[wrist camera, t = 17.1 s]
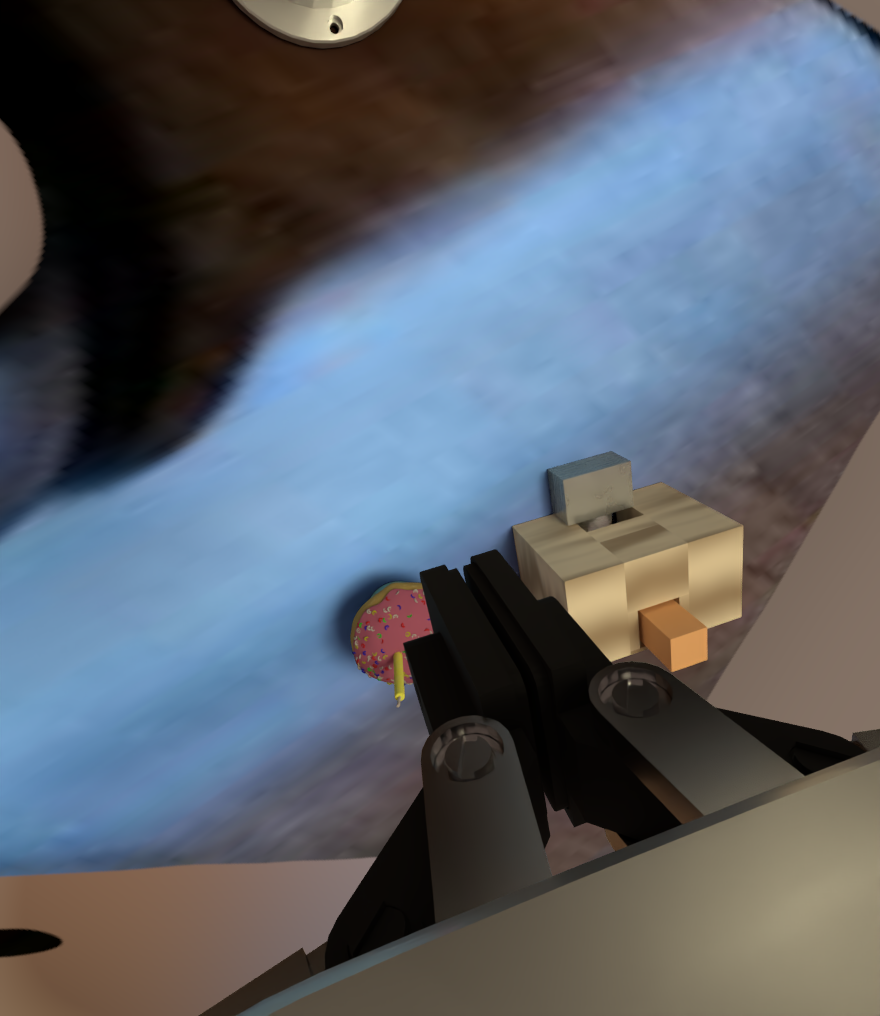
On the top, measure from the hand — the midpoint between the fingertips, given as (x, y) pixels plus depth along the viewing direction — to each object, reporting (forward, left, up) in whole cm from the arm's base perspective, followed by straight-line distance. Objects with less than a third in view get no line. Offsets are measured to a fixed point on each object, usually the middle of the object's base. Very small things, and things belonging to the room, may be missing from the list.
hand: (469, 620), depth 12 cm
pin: (+21, +18, -32) cm, 42 cm away
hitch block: (+19, +18, -32) cm, 41 cm away
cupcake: (+19, 0, -32) cm, 37 cm away
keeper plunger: (+21, +18, -26) cm, 38 cm away
